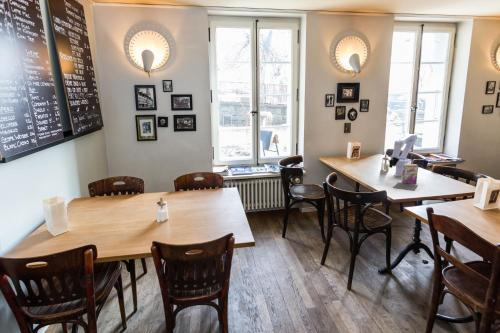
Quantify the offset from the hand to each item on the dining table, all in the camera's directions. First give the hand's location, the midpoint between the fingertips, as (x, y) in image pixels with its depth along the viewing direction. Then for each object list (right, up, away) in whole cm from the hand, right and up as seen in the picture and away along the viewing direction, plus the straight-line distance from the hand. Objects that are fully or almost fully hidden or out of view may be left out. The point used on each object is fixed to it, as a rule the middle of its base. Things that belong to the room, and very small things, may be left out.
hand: (391, 166), depth 285 cm
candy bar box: (+11, -14, -8) cm, 20 cm away
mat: (+3, -17, -18) cm, 25 cm away
